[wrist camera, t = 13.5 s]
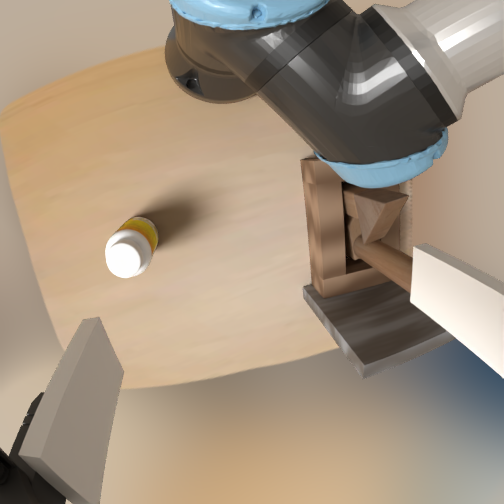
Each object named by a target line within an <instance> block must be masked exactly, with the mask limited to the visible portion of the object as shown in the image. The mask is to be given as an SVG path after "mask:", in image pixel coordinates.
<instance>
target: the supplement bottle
mask: <svg viewBox="0 0 504 504" xmlns="http://www.w3.org/2000/svg"><path fill="white" fill-rule="evenodd" d="M158 238H159V237H158V231H157V229H156V227H155V225H154V224H153V223H152V222H151V221H150V220H148V219H146V218H143V217H134V218H131V219H129V220H128V221H126V222H125V223H124V224H123V225H122V226H121V227H120V228H119V229H118V230H117V231H116V232H115V233H114V234H113V235H112V236H111V238H110V239H109V240H108V242H107V245H106V251H105V253H106V261H107V265H108V268H109V269H110V271H111V272H112V273H113V274H115V275H116V276H118V277H121V278H129V277H132V276H136V275H139V274H141V273H142V272H144V271H145V270H146V269H147V267H148V266H149V264H150V262H151V259H152V257H153V254H154V252H155V249H156V247H157V244H158Z"/></svg>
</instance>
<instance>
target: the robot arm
mask: <svg viewBox="0 0 504 504" xmlns="http://www.w3.org/2000/svg"><path fill="white" fill-rule="evenodd" d="M169 1H170V4H171V9H172V15H173V21H174V26H173V28H172V29H171V31H170V33H169V35H168V38H167V41H166V46H165V59H166V64H167V67H168V70H169V73H170V75H171V77H172V79H173V80H174V82H175V83H176V84H177V85H178V86H179V87H180V88H181V89H182V90H183V91H184V92H186V93H187V94H189V95H190V96H192V97H194V98H196V99H199V100H202V101H205V102H209V103H217V104H227V103H235V102H239V101H242V100H245V99H248V98H250V97H252V96H254V95H255V94H257V95H258V96H259V97H260V98H261V99H262V100H264V101H265V102H266V103H267V104H268V105H269V106H270V107H271V108H272V109H273V110H274V111H275V112H276V113H277V114H278V115H279V116H280V117H281V118H282V119H283V120H284V121H285V122H286V123H287V124H288V125H289V126H291V127H292V128H293V130H294V131H295V132H296V133H297V134H298V135H299V136H300V137H301V138H302V139H303V140H304V141H305V142H306V143H307V144H308V145H309V146H310V147H311V148H312V149H313V150H314V154H315V155H316V156H317V157H318V158H319V159H320V160H321V161H323V162H325V163H327V164H328V165H329V166H330V167H331V168H332V169H333V170H334V171H335V172H336V173H337V174H338V175H339V176H340V177H341V178H342V179H343V180H345V181H346V182H348V183H350V184H354V185H356V186H359V187H362V188H383V187H389V186H393V185H396V184H400V183H402V182H405V181H408V180H410V179H412V178H414V177H416V176H418V175H419V174H421V173H423V172H424V171H426V170H427V169H428V168H430V167H431V166H432V165H433V159H438V158H440V157H441V156H442V154H443V153H444V151H445V150H446V147H447V144H448V129H447V126H449V125H451V124H453V123H455V122H456V121H458V120H460V119H461V117H462V112H463V107H464V102H465V98H466V96H467V94H468V93H470V92H471V91H473V90H475V89H477V88H479V87H480V86H483V85H484V84H486V83H488V82H490V81H492V80H493V79H495V78H497V77H499V76H501V75H503V74H504V0H415V1H413V2H412V3H410V4H408V5H407V6H405V7H401V8H397V7H391V6H385V5H377V4H374V5H372V6H371V7H370V8H368V9H367V10H365V11H364V12H363V13H361V14H356V13H355V12H354V11H353V10H352V9H351V8H350V7H349V6H348V5H347V4H346V3H345V2H344V1H343V0H169ZM351 11H352V12H351ZM350 12H351V13H350ZM410 302H411V303H412V304H414V305H415V306H416V307H418V308H419V309H420V310H421V311H423V312H424V313H425V314H427V315H428V316H429V317H430V318H432V319H433V320H434V321H436V322H437V323H438V324H439V325H441V326H442V327H443V328H444V329H446V330H447V331H448V332H449V333H451V334H452V335H453V336H454V337H455V338H457V339H458V340H459V341H460V342H462V343H463V344H464V345H465V346H467V347H468V348H469V349H470V350H471V351H472V352H474V353H475V354H476V355H477V356H478V357H480V358H481V359H482V360H483V361H484V362H486V363H487V364H488V365H489V366H490V367H492V369H494V370H495V371H496V372H497V373H498V374H499V375H500V376H502V377H503V378H504V283H503V282H502V281H500V280H498V279H496V278H494V277H492V276H490V275H489V274H487V273H485V272H483V271H481V270H479V269H477V268H475V267H473V266H471V265H469V264H468V263H466V262H464V261H462V260H460V259H458V258H456V257H454V256H452V255H449V254H447V253H445V252H443V251H441V250H439V249H437V248H435V247H433V246H431V245H429V244H426V243H424V244H421V245H417V246H414V247H413V268H412V283H411V296H410ZM123 375H124V370H123V368H122V366H121V364H120V362H119V360H118V358H117V356H116V354H115V351H114V349H113V347H112V345H111V343H110V341H109V338H108V336H107V334H106V331H105V329H104V327H103V324H102V322H101V320H100V317H95V318H90V319H84V320H82V322H81V324H80V326H79V327H78V329H77V331H76V333H75V334H74V336H73V338H72V340H71V342H70V344H69V345H68V347H67V349H66V351H65V353H64V355H63V357H62V359H61V360H60V363H59V364H58V367H57V368H56V370H55V372H54V374H53V376H52V378H51V380H50V382H49V385H48V386H47V388H46V391H45V392H43V393H40V394H39V395H38V397H37V398H36V399H35V400H34V401H33V402H32V403H31V406H30V408H29V410H28V412H27V416H25V418H24V421H23V426H21V427H20V430H19V432H18V434H17V437H16V439H15V442H14V444H13V447H12V449H11V452H10V454H9V457H8V455H7V454H6V453H5V452H4V451H3V450H2V449H1V448H0V504H65V502H66V499H67V500H69V501H70V502H71V503H72V504H100V497H101V489H102V482H103V475H104V469H105V462H106V456H107V451H108V445H109V440H110V434H111V429H112V424H113V418H114V414H115V409H116V405H117V400H118V396H119V392H120V387H121V383H122V379H123Z"/></svg>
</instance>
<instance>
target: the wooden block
mask: <svg viewBox="0 0 504 504" xmlns="http://www.w3.org/2000/svg"><path fill="white" fill-rule="evenodd" d="M341 187H342V200H343V215H344V233H345V254H347V255H348V256H349V257H351V258H352V259H354V260H357V259H362V260H363V261H365V262H366V263H368V264H369V265H371V266H372V267H373V268H375V269H376V270H378V271H379V272H381V273H382V274H384V275H385V276H386V277H388V278H389V279H391V280H392V281H394V282H395V283H396V284H398V285H399V286H401V287H402V288H403V289H405V290H406V291H408V292H409V293H410V294H411V283H412V268H413V258H412V257H410V256H408V255H406V254H404V253H403V252H401V251H399V250H397V249H395V248H393V247H391V246H390V245H388V244H386V243H384V242H382V241H380V240H378V239H381V238H383V237H385V235H386V234H387V232H388V231H389V229H390V227H391V226H392V224H393V222H394V221H395V219H396V218H397V216H398V214H399V213H400V211H401V209H402V207H403V206H404V204H405V202H406V201H407V199H408V197H409V195H406V194H402V193H399V192H395V191H391V190H386V189H382V188H362V187H359V186H356V185H354V184H350V183H348V182H346V183H343V184H341Z"/></svg>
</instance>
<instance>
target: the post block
mask: <svg viewBox="0 0 504 504" xmlns="http://www.w3.org/2000/svg"><path fill="white" fill-rule="evenodd" d="M300 161H301V169H302V178H303V187H304V196H305V206H306V217H307V227H308V239H309V251H310V265H311V279H312V285H309V286H305V287H303V296H304V299H305V301H306V302H307V303H308V305H309V306H310V307H311V309H312V310H313V311H314V313H315V314H316V316H317V317H318V318H319V320H320V321H321V322H322V324H323V325H324V326H325V328H326V329H327V331H328V332H329V333H330V335H331V336H332V337H333V339H334V340H335V341H336V343H337V344H338V346H339V347H340V348H341V350H342V351H343V352H344V354H345V355H346V356H347V358H348V359H349V361H350V362H351V363H352V365H353V366H354V367H355V369H356V370H357V372H358V373H359V374H360V376H361V377H362V378H363V379H364V378H367V377H370V376H372V375H375V374H378V373H381V372H383V371H386V370H388V369H391V368H393V367H395V366H398V365H400V364H402V363H405V362H407V361H410V360H412V359H414V358H416V357H419V356H421V355H423V354H425V353H427V352H429V351H432V350H434V349H436V348H438V347H440V346H442V345H444V344H445V343H448V342H449V341H452V340H454V339H456V338H455V337H454V336H453V335H452V334H451V333H449V332H448V331H447V330H446V329H444V328H443V327H442V326H441V325H439V324H438V323H437V322H436V321H434V320H433V319H432V318H430V317H429V316H428V315H427V314H425V313H424V312H423V311H421V310H420V309H419V308H418V307H416V306H415V305H414V304H412V303H411V302H410V296H411V294H410V293H409V292H408V291H406V290H405V289H403V288H402V287H401V286H399V285H398V284H396V283H395V282H394V281H392V280H391V279H389V278H388V277H386V276H385V275H384V274H382V273H381V272H379V271H378V270H376V269H375V268H373V267H372V266H371V265H369V264H368V263H366V262H365V261H363V260H362V259H357V260H354V259H352V258H350V259H345V233H344V215H343V200H342V187H341V182H343V181H345V180H343V179H342V178H341V177H340V176H339V175H338V174H337V173H336V172H335V171H334V170H333V169H332V168H331V167H330V166H329V165H328V164H327V163H325V162H323V161H321V160H320V159H319V158H315V159H306V160H300ZM382 189H386V190H391V191H395V192H399V184H396V185H393V186H389V187H383V188H382ZM378 240H380V241H382V242H384V243H386V244H388V245H390V246H391V247H393V248H395V249H397V250H400V213H399V214H398V216H397V218H396V219H395V221H394V222H393V224H392V226H391V227H390V229H389V231H388V232H387V234H386V235H385V237H383V238H381V239H378Z"/></svg>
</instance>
